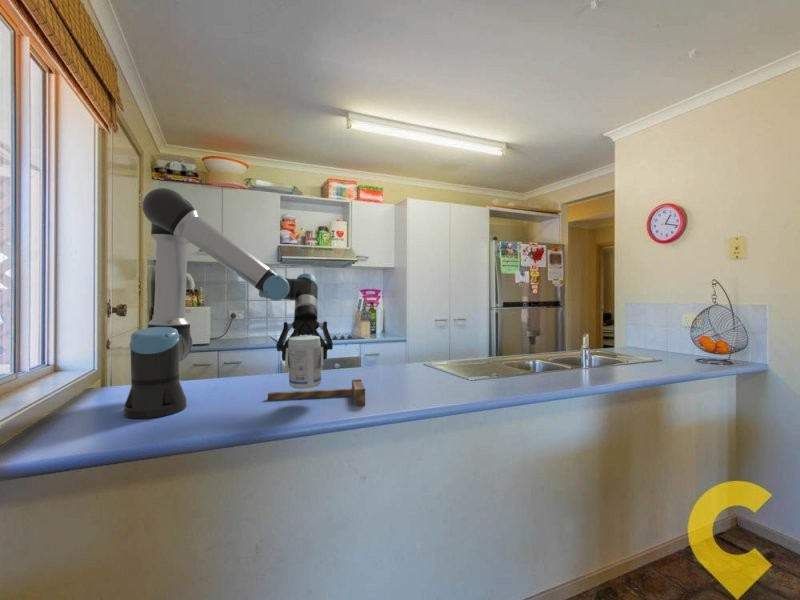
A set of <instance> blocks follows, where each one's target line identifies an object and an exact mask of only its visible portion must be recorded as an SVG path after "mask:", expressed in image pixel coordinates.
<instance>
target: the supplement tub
mask: <svg viewBox="0 0 800 600" xmlns="http://www.w3.org/2000/svg"><path fill="white" fill-rule="evenodd" d="M289 337H290V336H289ZM289 337H288V338H289ZM288 356H289V366H288V380H289V381H288V382H289V383H288V384H289V386H290V387H291V388H293V389H298V390H301V389H302V390H304V389H313V388H315V387H318V386H320V385H321V383H322V370H321V343H320V337H319V336H312V335H300V336H295V337H290V338H289V343H288Z"/></svg>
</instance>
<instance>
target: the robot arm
mask: <svg viewBox="0 0 800 600" xmlns="http://www.w3.org/2000/svg"><path fill="white" fill-rule="evenodd" d="M141 207H142V212H143V214H144V216H145V218H146V219H147V221H149V222H150V223H151V226H150V227H151V229H150V231H151V232H150V236H151V238H153V240H155V241H156V247H155V248H156V250H155V252H156V253H155V276H154V277H155V281H154V282H155V283H154V305H153V306H154V308H153V310H154V311H153V318H152V319H151V320H150V321H148V322H147V327H145V328H141V329H138V330H136V331H134V332H132V333H131V336H130V342H129V349H130V381H131V382H130V384H131V385H130V389H129V393H128V395H127V398H126V401H125V404H124V406H123V415H124V417H126V418H128V419H137V420H138V419H141V420H142V419H153V418H158V417H165V416H168V415H172V414H173V415H174V414H175V413H178V412H181V411H183V410H184V409H185V408H186V407H187V397H186V395H185V392H184V390H183V386H182V384H181V382H180V362H182V361H183V360H185V359H186V358H187V357H188V355H190V353H191V350H192V349H193V339H192V336H191V333H190V332H191V322H190V321H189V320H188V319H187V318H186V303H187V299H186V298H187V277H188V246H189V244H190V243H191V244H192V245H194V246H195V247H197V248H198V249H199V250H201V251H203V252H204V253H205V254H206V255H208V256H209V257H211V258H213V259H214V260H215V261H216V262H218V263H220V265H222V266H224V267H225V268H226V269H228V270H229V271H231V272H232V273H234V274H235V275H237V276H238V277H239V278H241V279H242V280H243V281H245V282H247V283H248V284H249V285H251V286H252V287H254V288H255V289H256V290H257V291H258V296H259V297H260V298H262V299H263V298H265V299H269V300H271V301H282V300H285V301H288V300H289V301H294V313H293V314H294V315H293V321H292V322H291V323H288V322H287V321H285V322H284V321H283V328H282V331H281V333H280V336H279V338H278V340H277V342H276V345H275V346H276V351H277V352H281V360H282V362H284V369H285V372H289V356H288V343H289V338H290V337H295V336H319V337H320V343H321V371H323V370H324V360H327V359H328V351H332V350H333V349H334V346H333V345H334V344H333V340H332V337H331V335H330V332H329V330H328V321H326V320H325V321H324V320H323V322H319V319H318V318H319V317H318V315H319V313H318V305H319V304H318V303H319V301H318V300H319V299H318V294H319V293H318V292H319V291H318V289H319V287H318V280H317V278H316V276H314V274H311V273H306V272H305V273H302V274H300V275H298V276H297V277H296V278H289V277H284V276H282V275H280V274H279V273H278V272H276V271H274V270H273V269H271V268H270V267H269V266H267V265H266V264H265V263H264V262H262V261H261V260H259V258H257V257H256V256H254V255H253V254H252V253H250V252H248V251H247V250H246V249H244V248H243V247H242V246H241V245H239V244H237V243H236V242H235V241H234V240H233V239H231V238H229V237H228V236H227V235H225V234H224V233H223V232H221V231H220V230H218V229H217V228H216V227H214V226H213V225H212V224H210V223H209V222H207V220H205V219H203V218H202V217H201V216H199V211H198V210H197V209H195V208H194V206H193V205H192V204H191V202H190V201H188V200H187V199H186V198H185V197H183V196H182V195H181V194H180V193H179V192H177V191H175V190H173V189H172V188H171V189H170V188H164V187H162V188H161V187H160V188H156V189H155V188H154V189H152V190H150V191H149V192H148V193H147V194H146V195H144V198H143V200H142V205H141ZM319 328H320V330H321V331H322V333H323V335H324V336H323V337H324V338H325V340H324V339H323V338H322V336H321V334H320V333H319V332H318V329H319ZM291 329H293V332H292V333H291V334H290V335H289V337H288V339H287V336H288V333H289V332H290V330H291ZM325 341H326V342H325Z"/></svg>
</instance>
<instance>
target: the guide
mask: <svg viewBox="0 0 800 600" xmlns="http://www.w3.org/2000/svg"><path fill="white" fill-rule="evenodd" d="M333 397H334V398H335V397H352V399H353V404H354V406H355V407H362V406H366V387H365V385H364V383H363V380H362V379H361V378H358V379H357V378H356V379H351V388H334V389H316V390H315V389H313V390H297V391H293V390H291V391H274V392H267V401H278V400H279V401H280V400H281V401H282V400H296V399H297V400H298V399H299V398H300V399H315V398H316V399H319V398H333Z"/></svg>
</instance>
